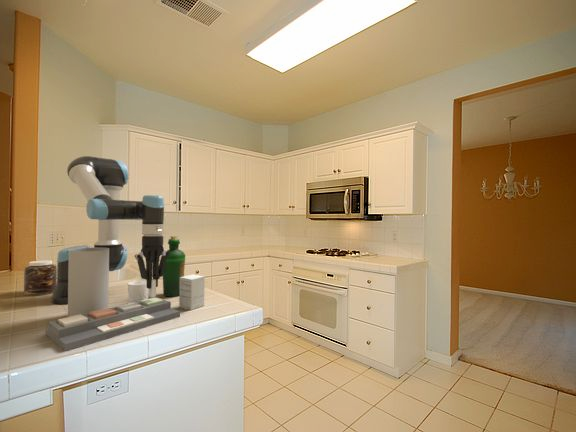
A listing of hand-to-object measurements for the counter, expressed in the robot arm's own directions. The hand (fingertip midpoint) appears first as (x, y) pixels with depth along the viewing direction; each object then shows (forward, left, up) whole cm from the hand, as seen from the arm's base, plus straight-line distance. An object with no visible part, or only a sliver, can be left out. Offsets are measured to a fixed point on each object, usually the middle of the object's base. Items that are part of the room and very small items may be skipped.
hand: (152, 296), depth 111 cm
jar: (-69, -18, -7) cm, 72 cm away
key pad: (+2, -13, -7) cm, 15 cm away
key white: (0, -25, -3) cm, 26 cm away
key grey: (0, -9, -3) cm, 9 cm away
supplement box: (+4, +15, -7) cm, 17 cm away
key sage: (0, 0, -3) cm, 3 cm away
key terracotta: (0, -17, -3) cm, 17 cm away
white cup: (-13, +1, -7) cm, 15 cm away
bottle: (-18, +20, -7) cm, 28 cm away
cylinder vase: (-16, -16, -7) cm, 24 cm away
